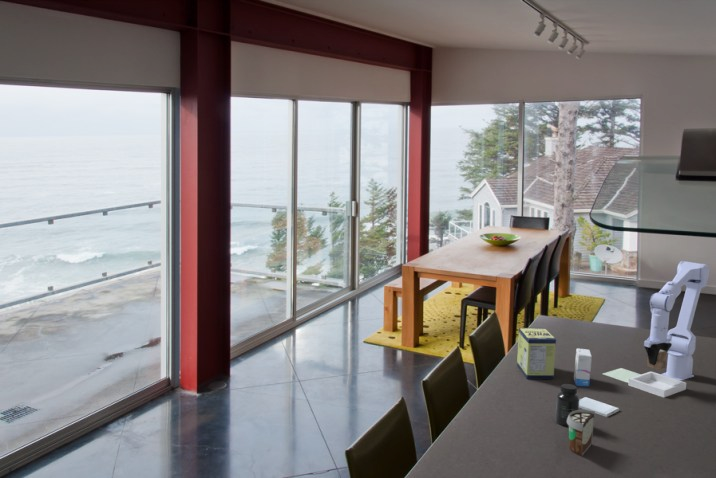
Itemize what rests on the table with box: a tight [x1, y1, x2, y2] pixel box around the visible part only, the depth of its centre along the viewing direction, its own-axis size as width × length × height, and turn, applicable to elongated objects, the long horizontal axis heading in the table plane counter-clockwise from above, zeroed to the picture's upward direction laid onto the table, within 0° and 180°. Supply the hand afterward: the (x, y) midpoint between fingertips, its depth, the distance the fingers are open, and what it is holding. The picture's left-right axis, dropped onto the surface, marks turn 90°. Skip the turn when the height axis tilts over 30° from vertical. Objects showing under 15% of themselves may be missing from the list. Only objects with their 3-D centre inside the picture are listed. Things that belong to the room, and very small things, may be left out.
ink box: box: [573, 347, 593, 388], centre depth 261 cm, size 9×5×12 cm, turn 168°
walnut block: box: [646, 350, 668, 370], centre depth 256 cm, size 4×4×6 cm
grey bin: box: [627, 371, 687, 398], centre depth 257 cm, size 14×14×3 cm
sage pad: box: [602, 367, 642, 384], centre depth 269 cm, size 12×11×1 cm
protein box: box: [516, 327, 557, 380], centre depth 271 cm, size 10×16×16 cm
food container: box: [567, 409, 596, 456], centre depth 208 cm, size 12×6×10 cm, turn 145°
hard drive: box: [579, 396, 620, 418], centre depth 238 cm, size 2×8×12 cm
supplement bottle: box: [555, 383, 580, 427], centre depth 225 cm, size 7×7×12 cm
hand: (656, 362), depth 256 cm, fingers closed on walnut block, 4 cm apart
